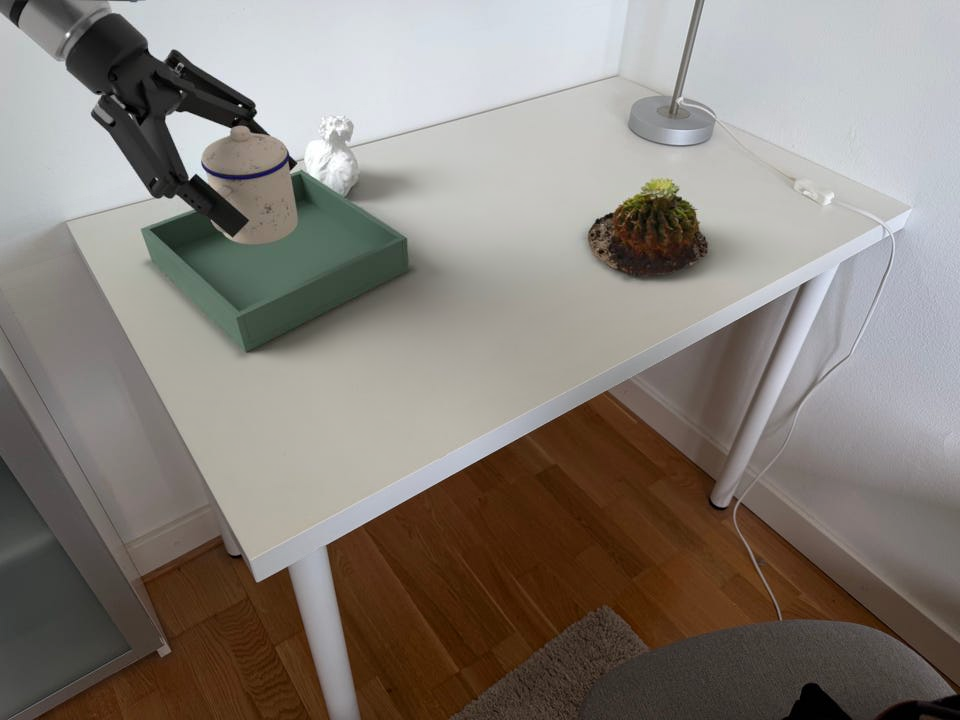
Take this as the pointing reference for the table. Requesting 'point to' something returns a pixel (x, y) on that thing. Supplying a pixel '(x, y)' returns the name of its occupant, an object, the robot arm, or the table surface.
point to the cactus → (649, 232)
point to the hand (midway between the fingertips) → (267, 198)
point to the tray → (279, 264)
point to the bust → (333, 155)
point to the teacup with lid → (253, 184)
